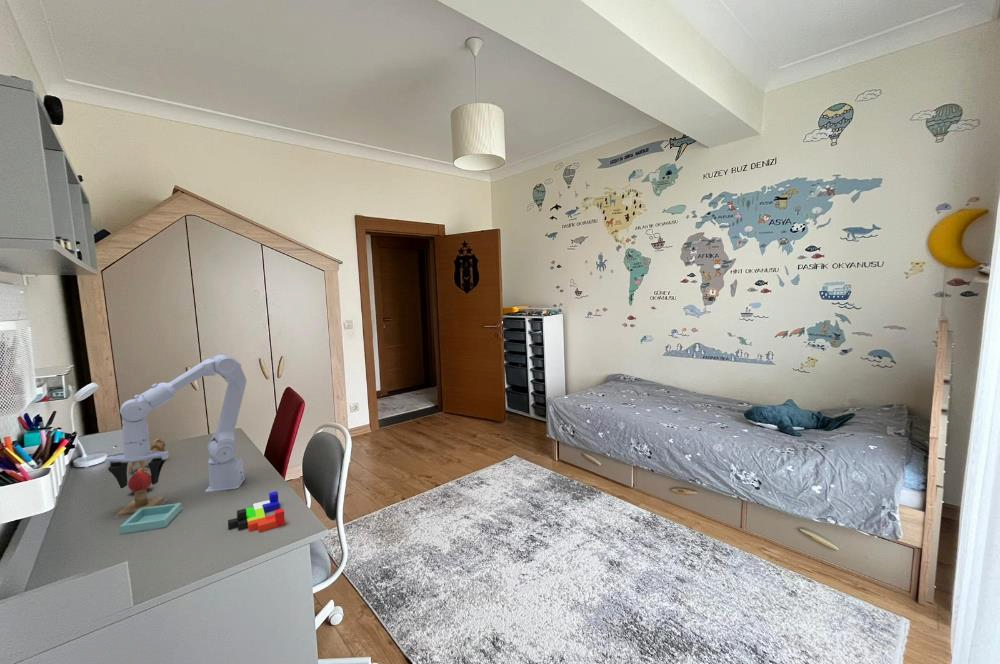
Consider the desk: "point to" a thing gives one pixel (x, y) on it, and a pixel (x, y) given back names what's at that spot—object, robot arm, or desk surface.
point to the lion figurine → (156, 446)
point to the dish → (151, 518)
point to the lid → (139, 503)
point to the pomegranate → (139, 481)
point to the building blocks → (259, 516)
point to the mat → (131, 515)
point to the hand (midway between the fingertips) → (139, 484)
